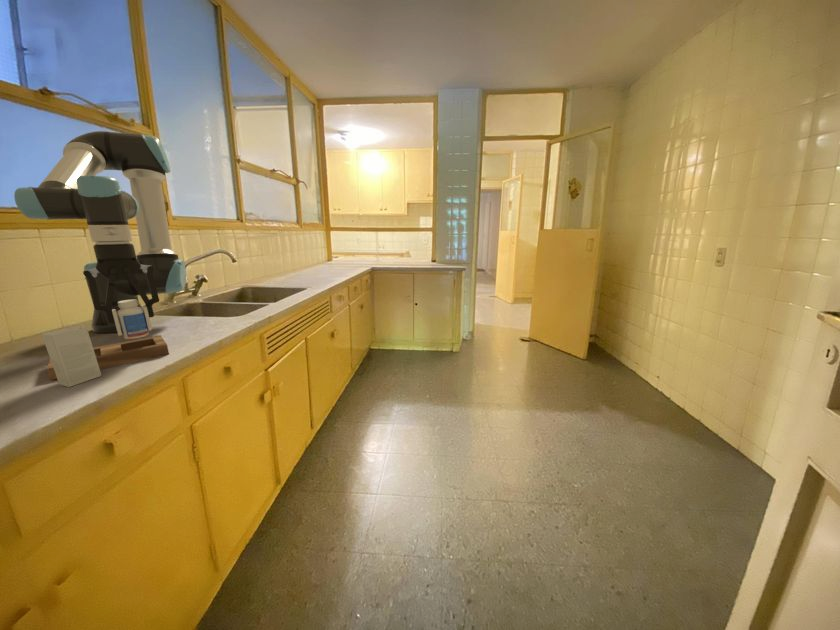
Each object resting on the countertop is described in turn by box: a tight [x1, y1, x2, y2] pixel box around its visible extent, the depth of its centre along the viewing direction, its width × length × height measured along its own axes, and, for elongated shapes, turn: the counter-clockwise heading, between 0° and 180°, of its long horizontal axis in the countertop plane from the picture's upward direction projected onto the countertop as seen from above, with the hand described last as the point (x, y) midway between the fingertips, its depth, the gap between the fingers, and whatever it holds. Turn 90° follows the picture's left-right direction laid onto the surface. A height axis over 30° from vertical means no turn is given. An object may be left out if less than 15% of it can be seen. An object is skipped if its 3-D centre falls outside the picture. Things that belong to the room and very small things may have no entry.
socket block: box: [46, 335, 170, 381], centre depth 86 cm, size 11×22×3 cm, turn 134°
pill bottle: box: [117, 299, 150, 340], centre depth 88 cm, size 6×5×10 cm
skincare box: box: [41, 325, 102, 388], centre depth 74 cm, size 6×4×12 cm
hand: (135, 331), depth 89 cm, fingers closed on pill bottle, 5 cm apart
